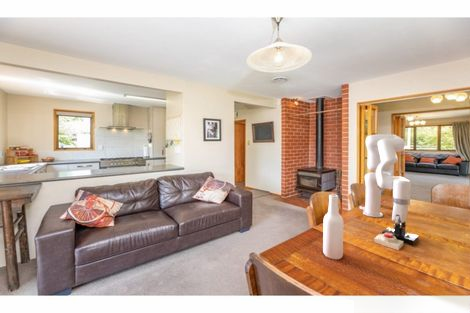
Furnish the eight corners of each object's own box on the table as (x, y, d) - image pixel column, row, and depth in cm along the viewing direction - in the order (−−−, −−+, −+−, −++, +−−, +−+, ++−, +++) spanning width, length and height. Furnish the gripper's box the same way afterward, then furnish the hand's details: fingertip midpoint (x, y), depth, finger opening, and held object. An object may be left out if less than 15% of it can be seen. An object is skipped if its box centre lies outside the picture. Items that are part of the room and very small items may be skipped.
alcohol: (342, 262, 94) (343, 198, 92) (321, 256, 99) (322, 196, 97) (343, 253, 102) (344, 194, 100) (324, 248, 106) (325, 192, 104)
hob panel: (381, 236, 118) (382, 231, 118) (387, 231, 124) (388, 226, 124) (413, 246, 107) (413, 240, 106) (418, 240, 113) (418, 234, 112)
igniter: (373, 242, 112) (373, 234, 112) (379, 237, 117) (379, 230, 116) (398, 250, 103) (398, 242, 103) (403, 245, 108) (403, 237, 108)
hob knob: (394, 232, 116) (394, 225, 116) (395, 231, 117) (395, 225, 117) (404, 235, 113) (404, 228, 112) (405, 234, 114) (405, 227, 113)
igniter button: (383, 236, 110) (383, 233, 110) (385, 234, 112) (385, 231, 112) (391, 239, 107) (391, 236, 107) (393, 237, 109) (393, 234, 109)
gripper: (397, 196, 122) (396, 226, 123) (387, 202, 111) (386, 234, 113) (414, 199, 116) (412, 230, 117) (405, 205, 105) (403, 239, 107)
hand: (399, 232), depth 115 cm, fingers open, 5 cm apart
